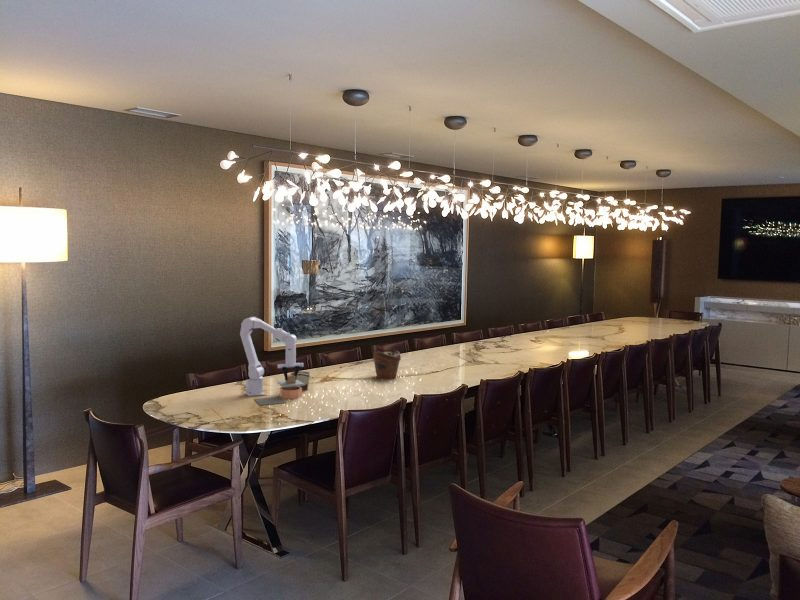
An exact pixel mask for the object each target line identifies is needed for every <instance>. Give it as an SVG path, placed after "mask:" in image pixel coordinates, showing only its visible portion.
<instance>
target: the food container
mask: <svg viewBox="0 0 800 600" xmlns="http://www.w3.org/2000/svg"><path fill="white" fill-rule="evenodd" d="M290 375H294V371H291V372H290ZM310 378H311V374H310V371H304V370H299V372H298V374H297V378H296V380H299V381H301V382H302V383H303V384H304V386H300V387H301V388H302V391H308V390H309V381H310Z"/></svg>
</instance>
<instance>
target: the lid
mask: <svg viewBox="0 0 800 600" xmlns="http://www.w3.org/2000/svg"><path fill="white" fill-rule="evenodd" d="M277 384H278V385H279V386H280V387H294V386H304V384H303V383H302V382H301V381H299V380H296V376H295V375H291V374H287V381H286V380H279V381H278V380H277Z"/></svg>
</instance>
